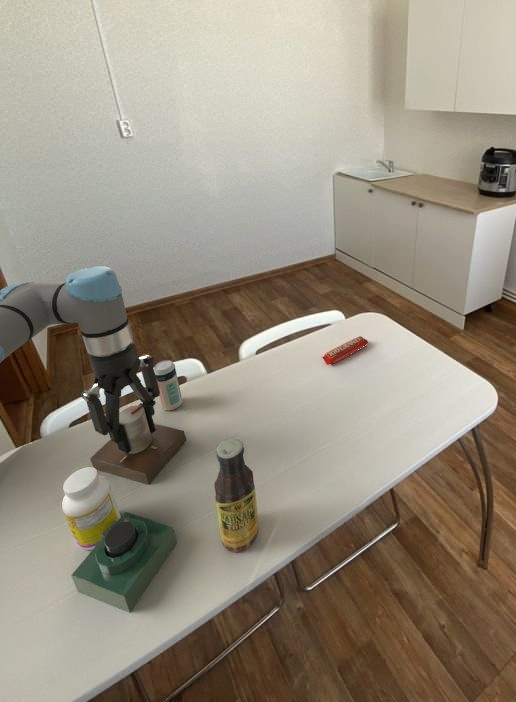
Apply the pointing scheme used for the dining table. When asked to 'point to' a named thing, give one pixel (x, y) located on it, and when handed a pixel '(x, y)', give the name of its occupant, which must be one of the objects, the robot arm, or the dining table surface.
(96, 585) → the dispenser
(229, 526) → the sauce bottle
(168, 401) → the pale pink canister
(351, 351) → the candy bar
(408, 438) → the dining table surface
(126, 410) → the dial
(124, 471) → the dial panel
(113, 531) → the dark grey push button
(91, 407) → the robot arm
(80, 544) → the supplement bottle
